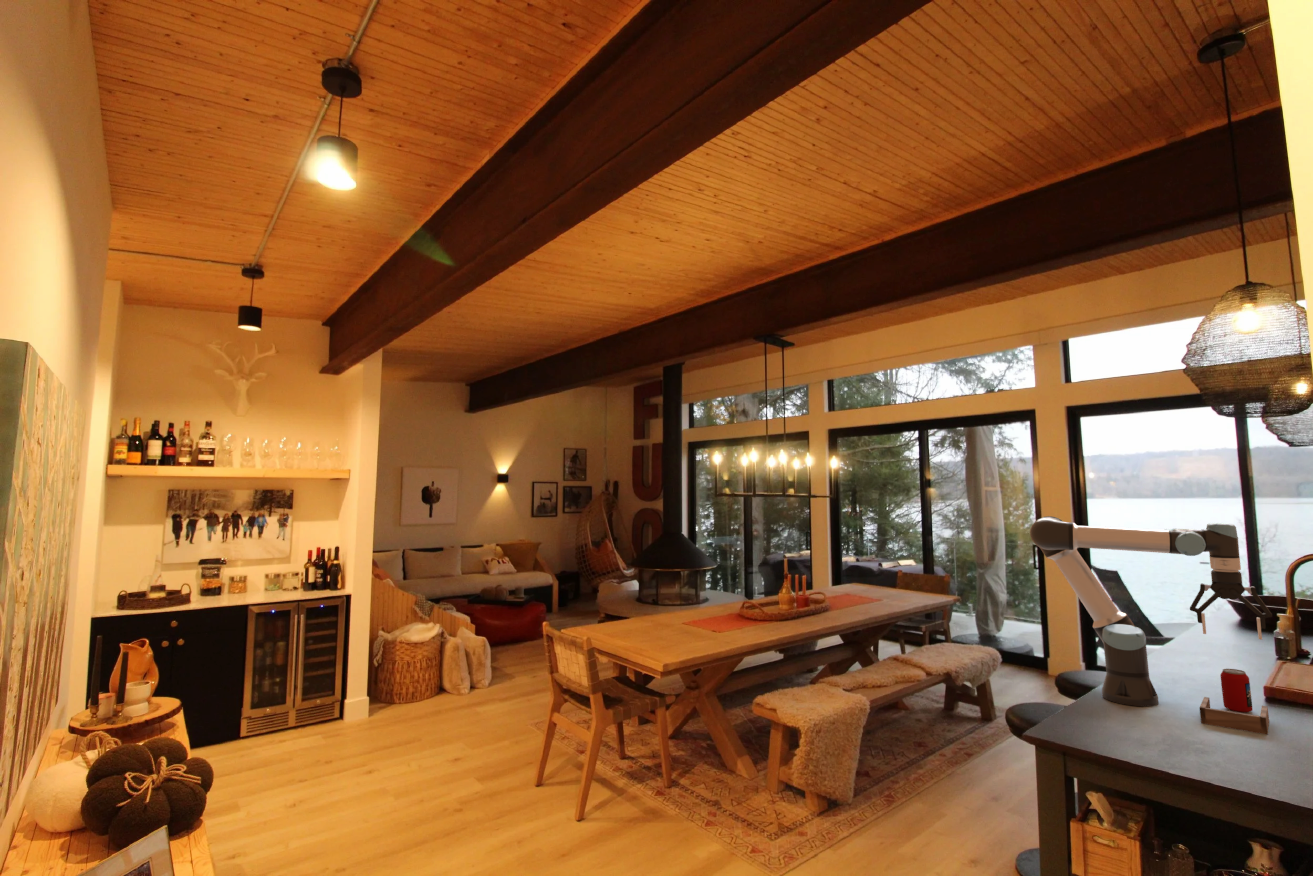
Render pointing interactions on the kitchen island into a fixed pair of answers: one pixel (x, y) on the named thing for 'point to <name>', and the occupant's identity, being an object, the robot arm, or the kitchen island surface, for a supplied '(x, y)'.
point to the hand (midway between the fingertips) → (1231, 636)
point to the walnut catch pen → (1234, 718)
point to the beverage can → (1236, 690)
